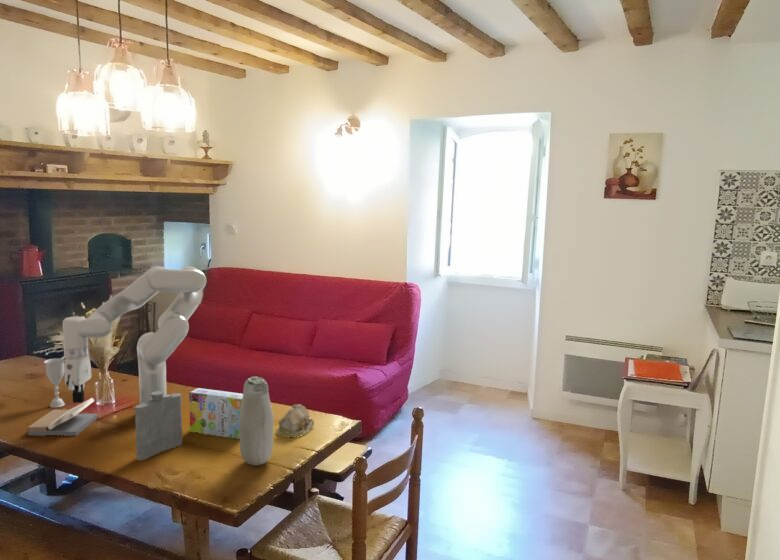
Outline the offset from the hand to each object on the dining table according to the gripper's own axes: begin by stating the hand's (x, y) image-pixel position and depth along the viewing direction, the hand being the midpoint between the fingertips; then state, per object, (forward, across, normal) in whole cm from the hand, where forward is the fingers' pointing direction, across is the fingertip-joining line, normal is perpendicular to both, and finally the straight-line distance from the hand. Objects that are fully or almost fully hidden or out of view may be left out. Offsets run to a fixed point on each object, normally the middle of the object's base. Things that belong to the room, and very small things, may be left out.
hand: (78, 401), depth 197 cm
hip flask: (+9, -19, -35) cm, 41 cm away
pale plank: (+5, 0, +2) cm, 5 cm away
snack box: (+9, -5, -51) cm, 52 cm away
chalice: (+10, +20, +18) cm, 29 cm away
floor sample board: (+9, 0, +5) cm, 11 cm away
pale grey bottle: (+9, -27, -68) cm, 73 cm away
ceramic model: (+9, -2, -77) cm, 77 cm away
